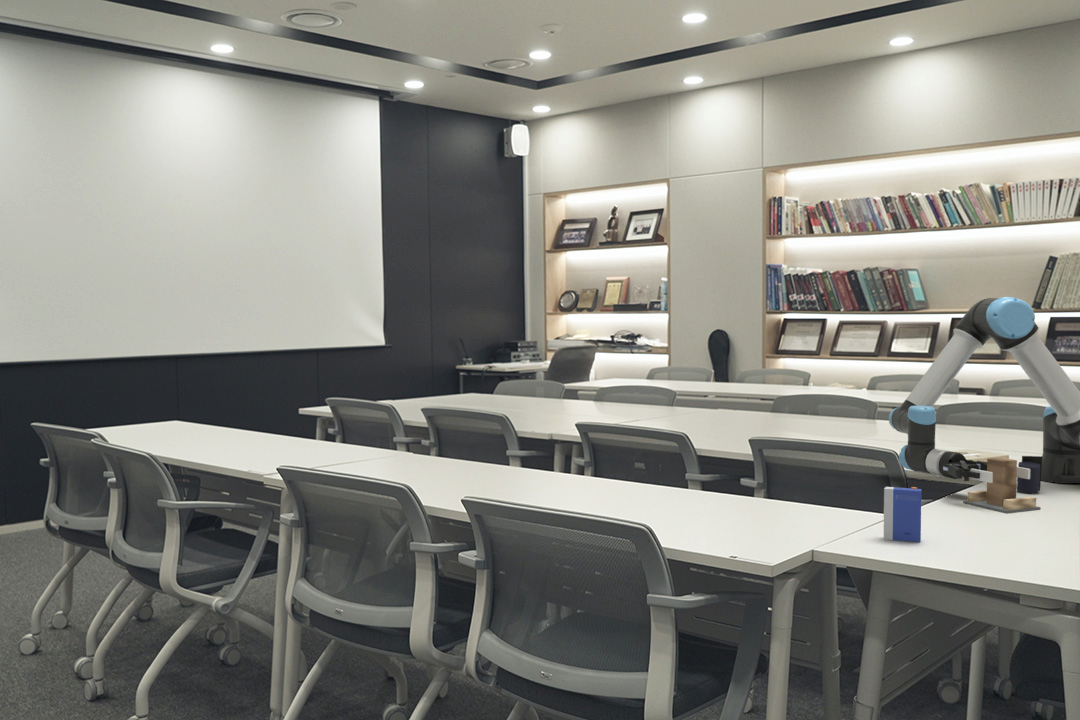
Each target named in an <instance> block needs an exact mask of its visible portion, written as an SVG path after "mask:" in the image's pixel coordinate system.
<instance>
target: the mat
mask: <svg viewBox="0 0 1080 720" xmlns="http://www.w3.org/2000/svg"><path fill="white" fill-rule="evenodd" d="M962 501H963V502H962V503H963V504H964V503H965V505H969V504H970V506H974V507H977V508H981V509H986V510H991V511H994V512H995V511H996V512H1000V513H1004V514H1013V513H1014V514H1015V513H1020V512H1021V513H1022V512H1031V511H1039V510H1041V507H1040V506H1037V505H1036V507H1034V508H1025V509H1016V510H1004V509H1003V507H1002V506H997V505H993V504H988V503H986V502H987V501H978V502H969V501H968V500H962Z"/></svg>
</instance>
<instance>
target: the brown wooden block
mask: <svg viewBox="0 0 1080 720" xmlns="http://www.w3.org/2000/svg"><path fill="white" fill-rule="evenodd" d="M986 459H987V460H986V462H987V471H988V472H993V483H988V482H986V490H987V502H986V503H988V504H993V505H997V506H1002V507H1003V500H1005V499H1015V498H1017V482H1018V481H1017V467H1018V460H1017V459H1012V458H1008V457H1007V458H1006V457H991V458H986Z"/></svg>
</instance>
